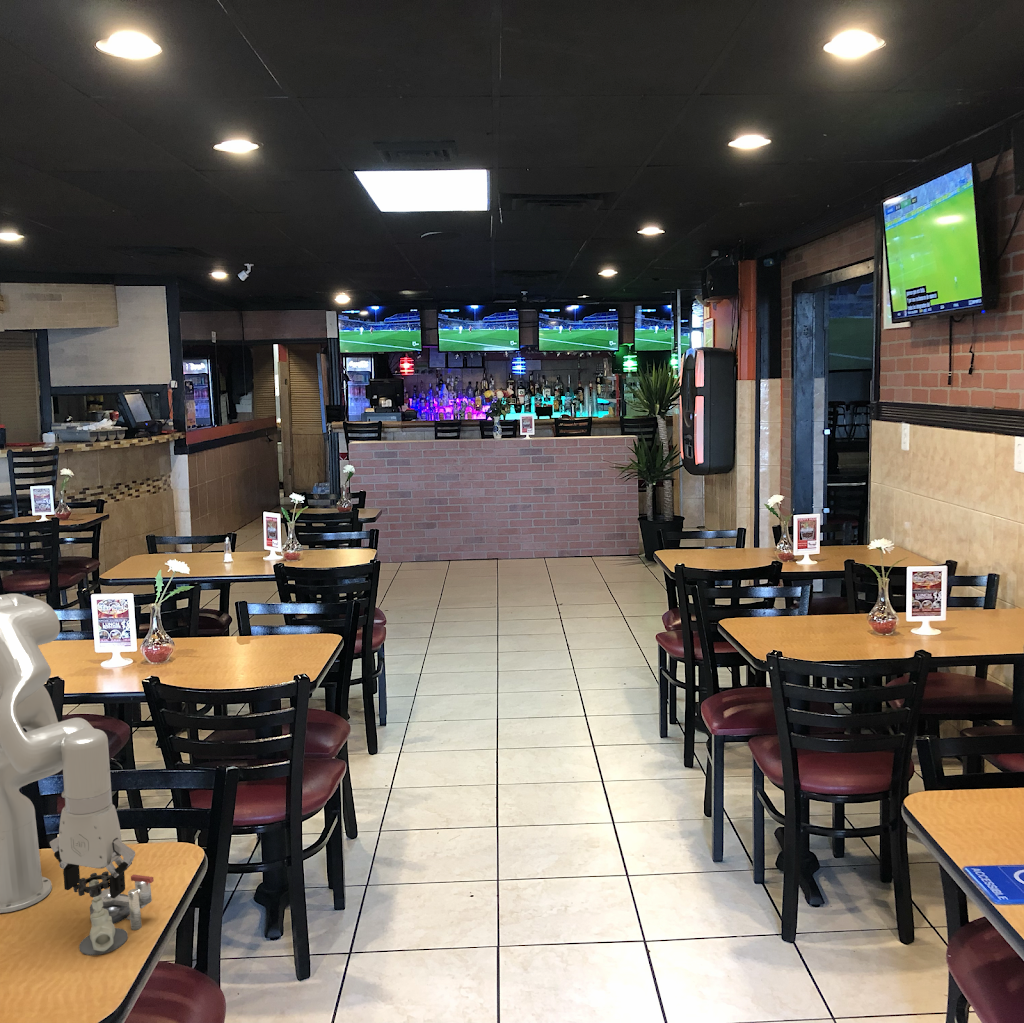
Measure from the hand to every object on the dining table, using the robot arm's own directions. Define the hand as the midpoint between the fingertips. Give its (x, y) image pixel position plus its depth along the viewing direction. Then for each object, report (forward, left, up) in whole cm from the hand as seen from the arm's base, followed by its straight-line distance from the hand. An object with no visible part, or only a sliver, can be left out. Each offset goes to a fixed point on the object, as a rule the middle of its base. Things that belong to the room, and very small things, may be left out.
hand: (95, 890), depth 167 cm
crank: (0, +7, -7) cm, 10 cm away
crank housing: (-1, +8, -10) cm, 12 cm away
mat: (+1, 0, -10) cm, 10 cm away
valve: (+2, -1, -9) cm, 10 cm away
